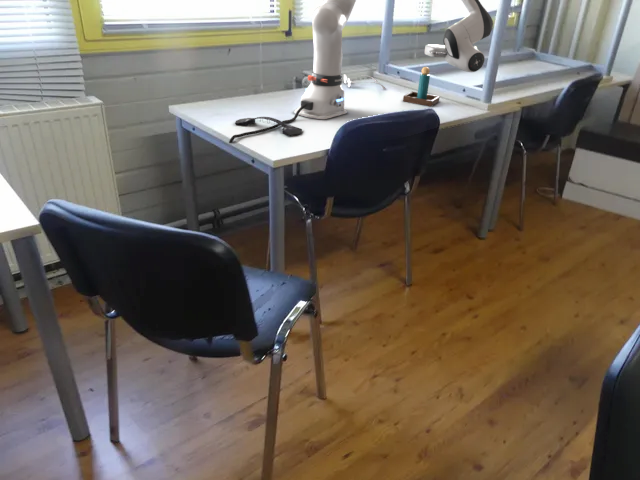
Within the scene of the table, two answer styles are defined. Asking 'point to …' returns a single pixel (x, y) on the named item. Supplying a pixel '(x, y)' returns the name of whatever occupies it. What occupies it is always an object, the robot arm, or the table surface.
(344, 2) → the robot arm
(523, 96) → the table surface
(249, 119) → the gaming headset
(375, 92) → the table surface
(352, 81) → the eyeglasses
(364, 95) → the table surface
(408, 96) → the tray
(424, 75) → the toy figure
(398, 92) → the table surface
